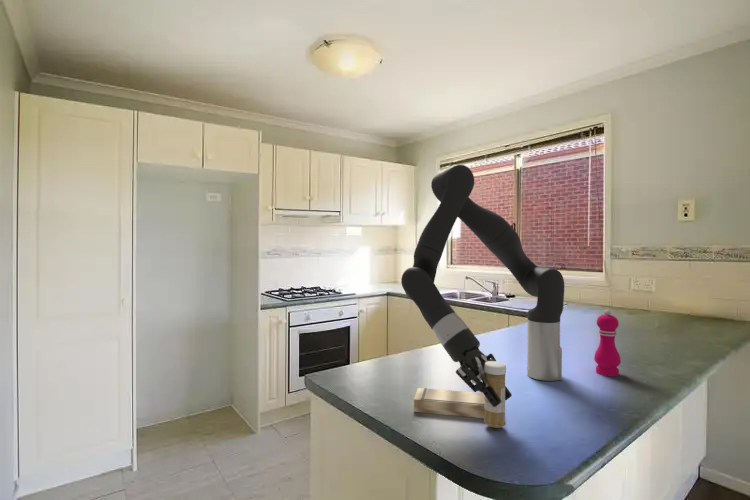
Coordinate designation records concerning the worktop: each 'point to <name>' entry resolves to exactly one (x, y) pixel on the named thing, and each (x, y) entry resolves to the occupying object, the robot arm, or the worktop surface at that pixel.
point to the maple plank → (450, 402)
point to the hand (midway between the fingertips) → (503, 401)
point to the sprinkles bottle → (497, 382)
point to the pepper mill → (607, 346)
